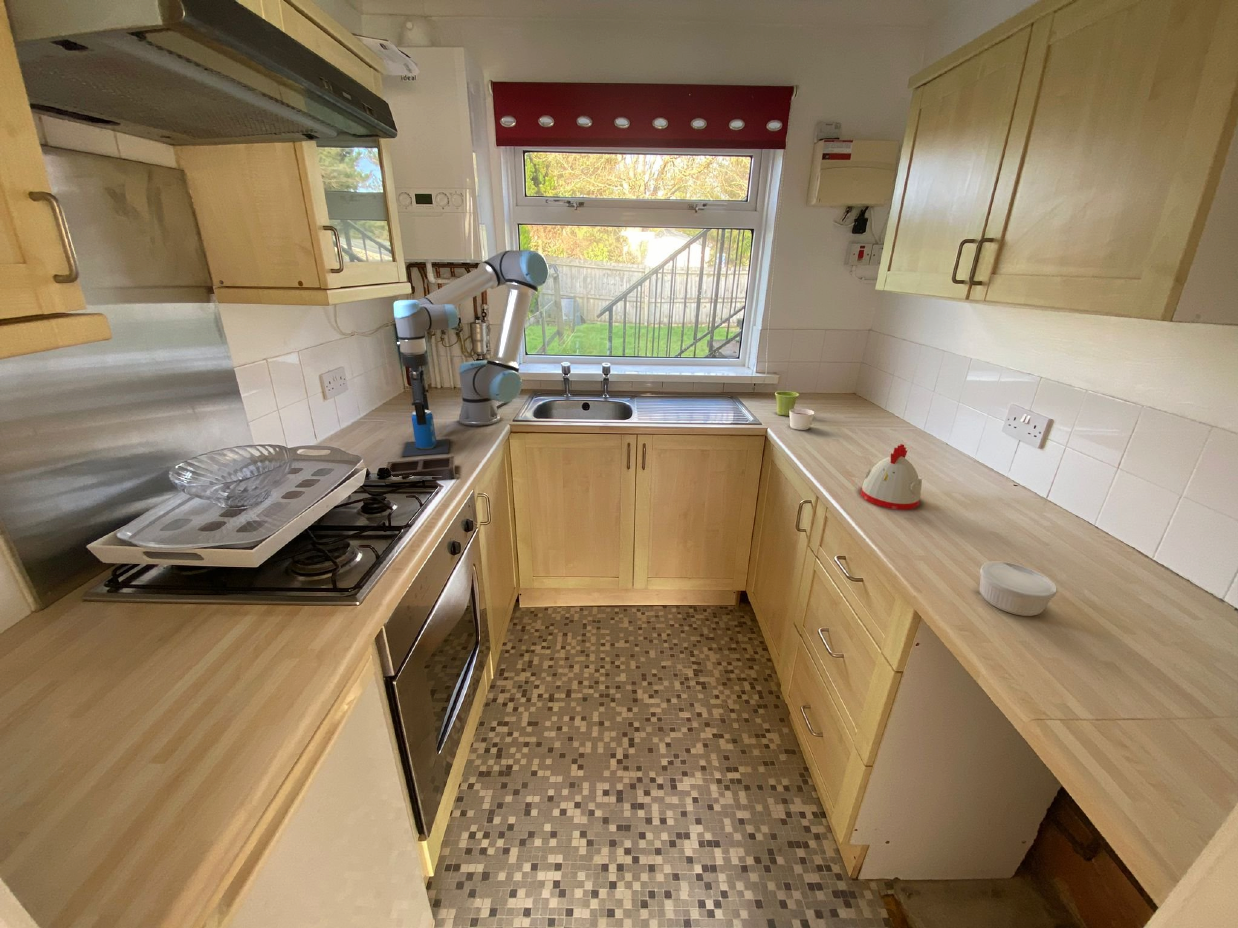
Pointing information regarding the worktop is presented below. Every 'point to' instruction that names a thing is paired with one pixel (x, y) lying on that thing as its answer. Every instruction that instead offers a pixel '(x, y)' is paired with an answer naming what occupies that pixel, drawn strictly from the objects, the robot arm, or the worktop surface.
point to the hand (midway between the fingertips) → (423, 418)
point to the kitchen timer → (893, 482)
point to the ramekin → (1015, 588)
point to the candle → (800, 418)
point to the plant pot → (785, 401)
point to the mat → (439, 448)
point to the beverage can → (424, 432)
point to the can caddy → (424, 468)
